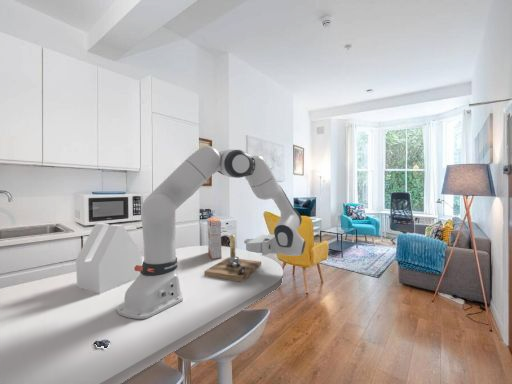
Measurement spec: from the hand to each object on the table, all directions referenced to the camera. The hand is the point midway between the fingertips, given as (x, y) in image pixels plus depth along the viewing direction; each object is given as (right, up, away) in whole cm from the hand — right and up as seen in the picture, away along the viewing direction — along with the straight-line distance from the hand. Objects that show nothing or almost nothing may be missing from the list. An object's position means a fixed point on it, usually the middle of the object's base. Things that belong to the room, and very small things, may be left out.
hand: (245, 241), depth 130 cm
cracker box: (-19, -12, +18) cm, 29 cm away
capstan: (-6, -10, -4) cm, 12 cm away
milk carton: (-57, -14, -18) cm, 62 cm away
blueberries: (-36, -17, -61) cm, 73 cm away
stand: (-5, -13, -6) cm, 15 cm away
